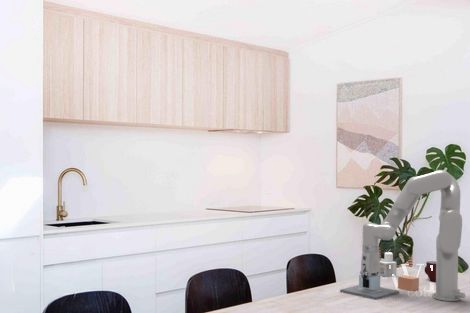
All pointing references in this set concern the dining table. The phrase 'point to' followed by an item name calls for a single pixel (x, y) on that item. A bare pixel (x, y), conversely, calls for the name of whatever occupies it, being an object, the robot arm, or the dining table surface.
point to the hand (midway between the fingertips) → (369, 286)
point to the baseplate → (370, 292)
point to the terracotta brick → (408, 283)
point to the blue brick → (371, 282)
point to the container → (387, 264)
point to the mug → (428, 270)
